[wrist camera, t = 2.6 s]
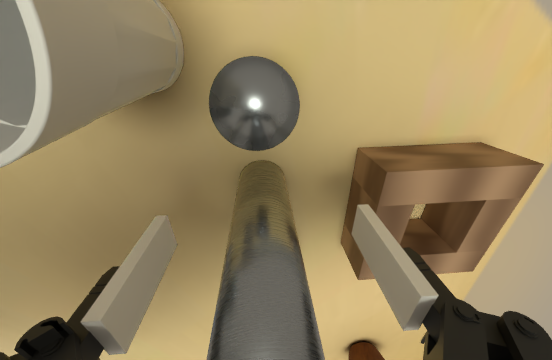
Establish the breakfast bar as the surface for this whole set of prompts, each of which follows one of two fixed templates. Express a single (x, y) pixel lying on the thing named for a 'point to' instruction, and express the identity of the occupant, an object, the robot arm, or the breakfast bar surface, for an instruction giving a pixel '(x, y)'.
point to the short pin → (254, 103)
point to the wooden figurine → (364, 352)
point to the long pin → (264, 278)
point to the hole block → (437, 200)
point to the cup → (78, 65)
